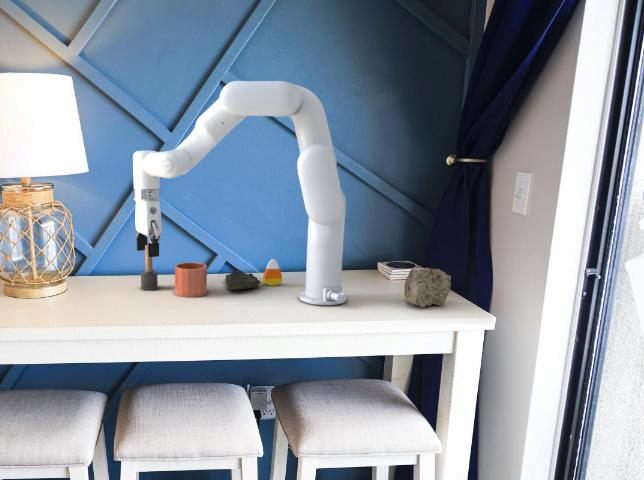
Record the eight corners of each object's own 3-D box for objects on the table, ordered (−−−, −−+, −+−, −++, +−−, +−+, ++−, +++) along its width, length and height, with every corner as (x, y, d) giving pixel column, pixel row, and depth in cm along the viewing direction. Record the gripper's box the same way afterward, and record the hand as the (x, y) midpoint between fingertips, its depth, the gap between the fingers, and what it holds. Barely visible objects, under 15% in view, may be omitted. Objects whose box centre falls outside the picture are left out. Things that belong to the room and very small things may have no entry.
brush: (160, 289, 187) (159, 246, 184) (144, 291, 185) (143, 247, 182) (154, 285, 192) (153, 243, 189) (138, 287, 190) (137, 244, 187)
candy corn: (281, 283, 193) (282, 257, 191) (283, 285, 191) (283, 259, 189) (261, 283, 193) (262, 258, 191) (263, 286, 190) (263, 260, 188)
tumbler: (211, 294, 181) (211, 267, 179) (182, 298, 178) (182, 270, 176) (198, 287, 189) (198, 261, 187) (170, 291, 186) (170, 264, 184)
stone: (219, 272, 199) (249, 266, 200) (221, 285, 200) (251, 280, 201) (230, 282, 181) (264, 275, 182) (232, 296, 181) (266, 290, 182)
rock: (397, 275, 177) (412, 263, 167) (441, 278, 177) (458, 266, 168) (399, 313, 173) (415, 303, 164) (444, 316, 174) (462, 306, 165)
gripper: (170, 197, 176) (170, 258, 180) (148, 191, 191) (149, 247, 195) (145, 198, 173) (145, 260, 177) (124, 192, 188) (126, 249, 192)
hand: (147, 253), depth 186 cm, fingers open, 9 cm apart
